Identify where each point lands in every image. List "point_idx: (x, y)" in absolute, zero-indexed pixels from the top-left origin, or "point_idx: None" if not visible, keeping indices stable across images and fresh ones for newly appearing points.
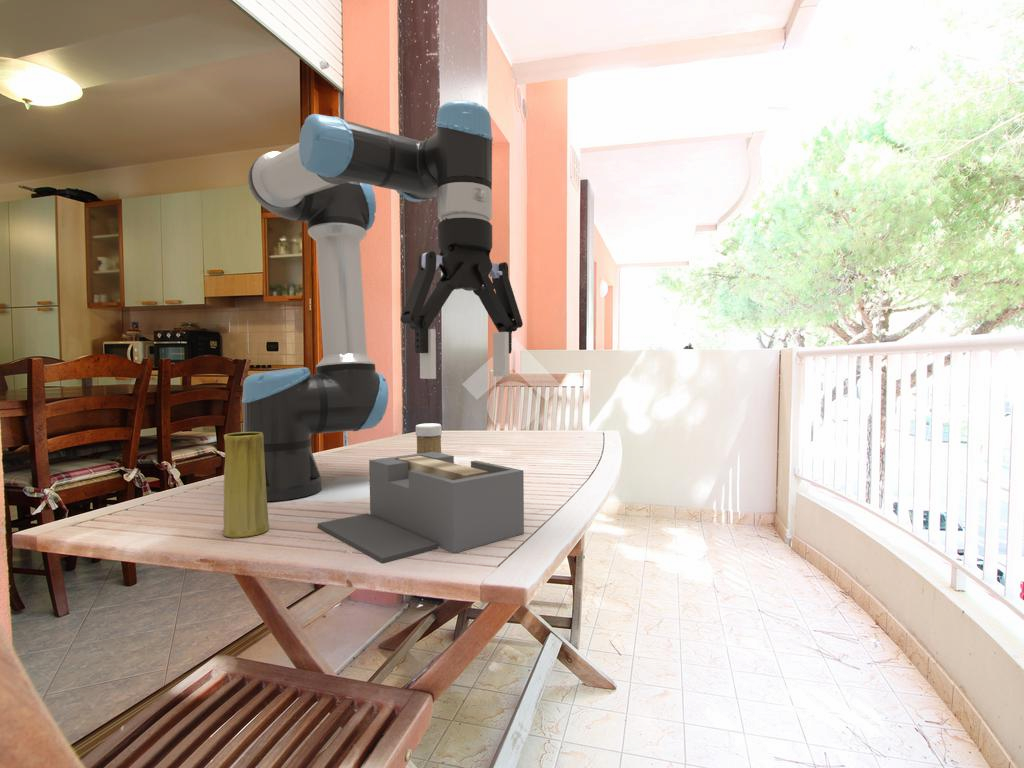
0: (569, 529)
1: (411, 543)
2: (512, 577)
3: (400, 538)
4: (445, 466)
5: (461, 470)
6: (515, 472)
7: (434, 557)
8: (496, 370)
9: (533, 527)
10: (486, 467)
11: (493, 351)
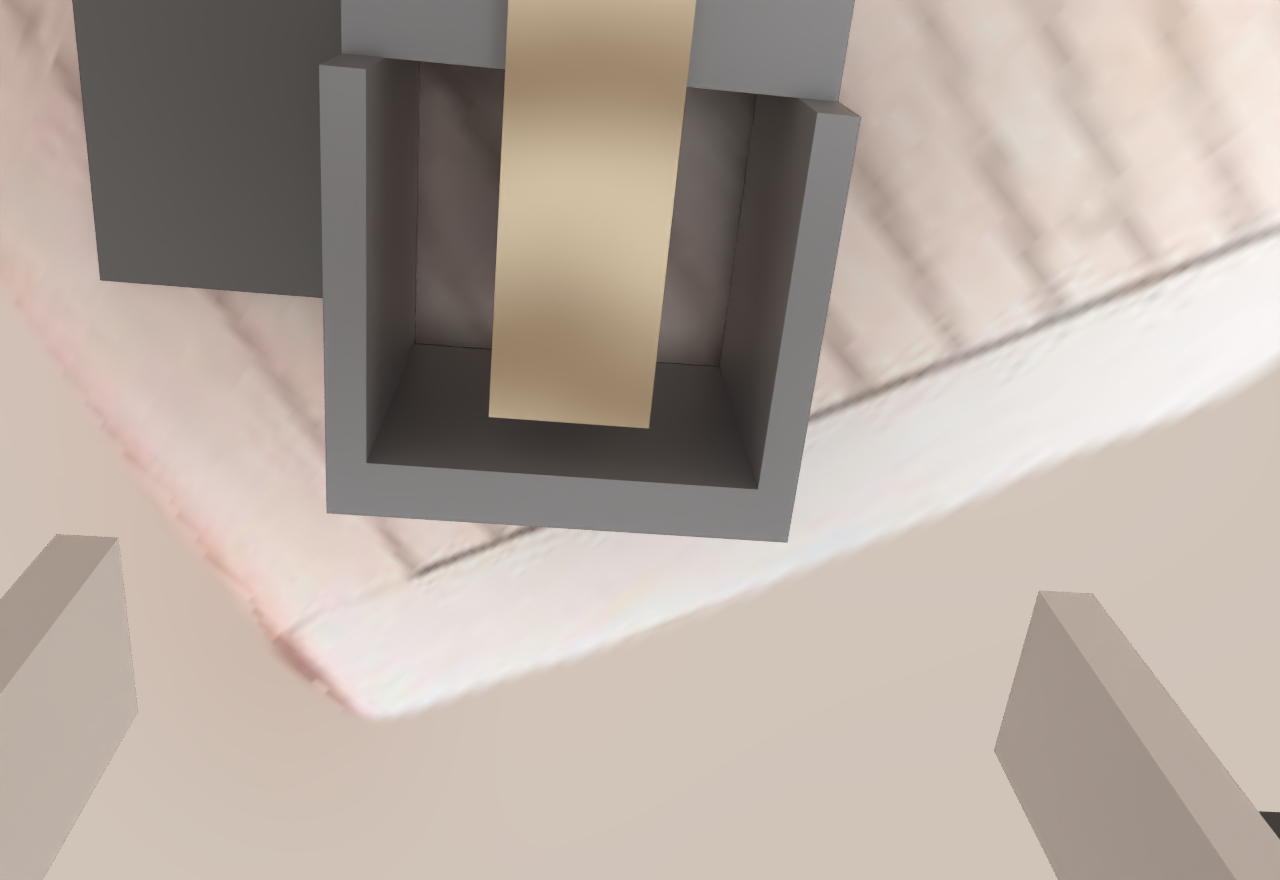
0: (906, 499)
1: (281, 216)
2: (389, 659)
3: (277, 121)
4: (579, 129)
5: (561, 306)
6: (730, 537)
7: (300, 363)
8: (1052, 675)
9: (839, 380)
10: (787, 275)
11: (1163, 790)
